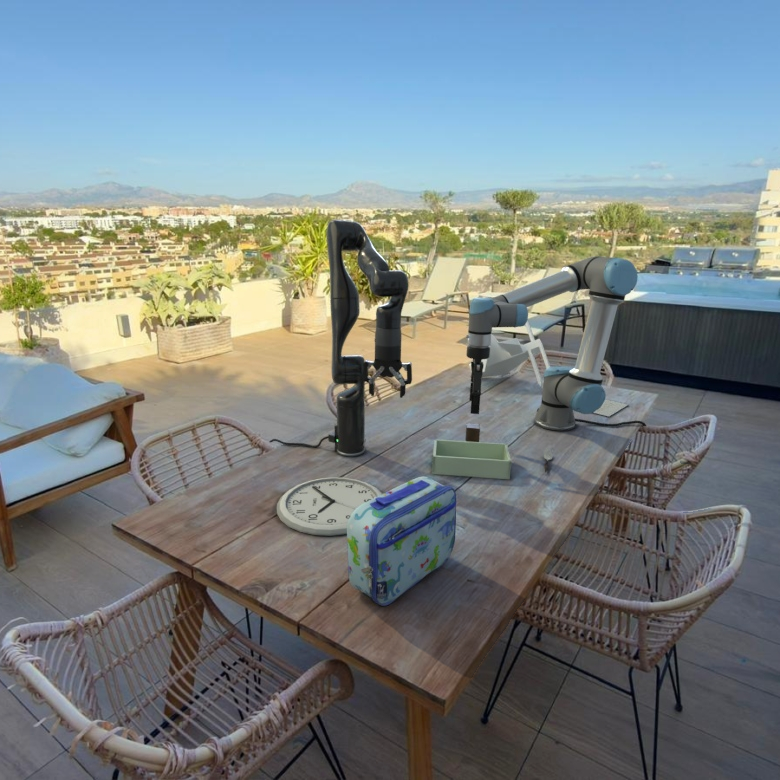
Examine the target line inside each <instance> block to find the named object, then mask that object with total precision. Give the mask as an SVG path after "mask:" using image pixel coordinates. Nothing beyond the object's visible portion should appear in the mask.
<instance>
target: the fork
mask: <svg viewBox="0 0 780 780" xmlns="http://www.w3.org/2000/svg"><path fill="white" fill-rule="evenodd" d="M553 451H554V450H553V448H552V451H551V449H549V451H547V450H545V452H544V455H543V459H545V460H546V461H545V463H544V473H547V470H548V468H549V461H551V460H553Z"/></svg>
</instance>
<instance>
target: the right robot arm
mask: <svg viewBox="0 0 780 780" xmlns="http://www.w3.org/2000/svg"><path fill="white" fill-rule="evenodd" d="M638 277H639V276H638V271H637V268H636V267H635V265H634V263H633V262H631V261H630V260H628V259H625V258H621V257H609V256H600V255H599V256H598V255H597V256H591V257H587V258H584V259H581V260H579V261H576V262H574V263H571V264H568V265H566V266H563V267H562V269H561V271H558V272H555V273H553V274H551V275H548V276H546V277H543V278H541V279H538V280H536V281H533V282H530V283H528V284H525V285H522V286H520V287H517V288H515V289H512V290H510V291H507V292H504V293H503V294H499V295H497V296H494V297H473V298H471V300H470V304H469V310H468V329H467V334H466V335H465V338H467V346H466V357H467V358H468V359H472V361H471V362H470V363H471V370H470V373H471V371H472V373H471V374H470V386H469V402H471V403H470V414H471V415H479V414H480V405H481V395H482V378H483V377H482V373H483V366H484V364H483V362H481V360H482V359H488V358H489V355H490V347H489V346H490V345H491V334H492V330H493V328H495V329H496V328H519V327H520V328H521V327H524V326H526V325H525V324H526V322H527V320H528V321H529V310H528V308H529V307H531V306H534V305H536V304H539V303H542V302H545V301H547V300H549V299H552V298H554V297H557V296H559V295H562V294H564V293H567V292H569V293H575V292H578V291H581V290H589V291H588V297H589V299H590V301H591V302H590V306H589V310H588V314H587V318H586V322H585V325H584V329H583V333H582V338H581V341H580V345H579V350H578V354H577V357H576V361H575V365H574V367H573V366H558V365H557V366H550V367H549V368H546V369H545V370H544V373H543V389H542V394H541V402H540V405H539V407H538V408H537V410H536V413H535V417H534V424H535V425H536V426H537V427H539V428H542V429H544V430H549V431H556V432H567V431H572V430H574V429H575V428H576V422H578V423H585V424H589V425H594V426H600V427H601V426H602V427H619V426H623V425H633V424H640V425H642V426H643V427H647V424H646V423H645V422H644V421H641V420H630V421H622V422H621V421H620V422H618V423H605V422H597V421H590V420H585V419H580V418H575V417H576V416H575V413H574V412H577V413H579V414H582V415H590V414H594V413H593V412H595V411H596V410H598V409H599V408H600V407H601V406H602V404H603V403H604V401H605V399H606V397H607V394H606V391H605V388H604V387H603V386H602V385H603V381H604V376H602V374H601V371H602V370H601V369H602V366H603V362H604V359H605V354H606V352H607V348H608V344H609V340H610V336H611V332H612V328H613V325H614V323H615V322H614V321H615V318H616V313H617V310H618V306H619V305H620V304H622V303H624V302H625V299H626V296H627V295H629V294H630V293H632V291H634V290H635V288H636V286H637V284H638Z"/></svg>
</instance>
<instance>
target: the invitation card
mask: <svg viewBox="0 0 780 780" xmlns="http://www.w3.org/2000/svg"><path fill="white" fill-rule="evenodd" d="M628 406H629V404H627V403H623V402H618V401H614V400H609V399H606V398H605V401H604V403H603V404H602V406H601V407H600V408H599V409H598V410H596V411H595V412H593V413H592V414H596V415H600V416H604V417H608V418H609V417H611V416H613V415H614V414H616V413H617V412H619V411H621V410H623V409H624V408H626V407H628Z"/></svg>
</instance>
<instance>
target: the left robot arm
mask: <svg viewBox="0 0 780 780" xmlns="http://www.w3.org/2000/svg"><path fill="white" fill-rule="evenodd" d="M325 238H326V251H327V257H328V269H329V289H330V290H329V299H330V300H329V302H330V303H329V305H330V321H331V366H330V367H331V368H330V369H331V370H330V371H331V379H332V382H333V383H334V384H335V385H352V386H350V387H349V388H348V389H346V390H343V391H341V392H339V393H338V394H337V395H336V423H335V424H334V427H333V428H334V429H333V430H334V431H333V432H331V433H329V434H328V435H326V436H324V437H322V438H321V439H320V441H319V442H318V444H316V445H312V444H307V443H301V442H285V441H282V440H280V439H278V438H273V439H271V440H269V443H273V442H277V443H280V444H282V445H285V446H286V445H287V446H303V447H308V448H313V449H315V448H319V447H321V445H322V442H323V441H324V440H327V441H328V442H330V443H332V444H334V452H337V454H338V455H340V456H343V457H358V456H361V455H363V454H364V453H365V452H366V447H365V444H366V440H367V438H366V437H365V434H366V433H365V425H366V424H365V418H366V417H365V415H366V414H365V413H366V411H365V409H366V407H365V404H366V401H365V397H366V396H365V392H366V389H365V388H366V383H367V384H368V394H369V395H370V396H371V397H374V396H375V392H376V391H375V389H376V387H375V386H376V385H375V383H376V382H375V381H376V380H377V379H378V377H379V376H380V377H381V378H395V380H397V381H398V383H399V384H400V386H399V398H400V399H401V398H404V397H405V396H406V387H407V385H411V384H412V381H413V366H412V365H413V364H412V362H411V361H408V362H402V312H403V308H404V304H405V301H406V297H407V294H408V291H409V283H410V282H409V278H408V276H407V274H406V272H405V271H403V270H399V269H398V270H391V269H390V265H389V263H388V262H387V261H386V259H384V257H383V256H382V255H381V254H380V253H379V252H377V250H376V248H375V247H374V245H373V243H372V241H371V240H370V238H369V236H368V234H367V233H366V230H365V228H364V227H363V226H362V225H361V224H360V223H359V222H357V221H353V220H343V219H341V220H340V219H331V220H330V221H329V222H328V224H327V227H326V237H325ZM343 252H351V253H352V252H356V253H357V256H356V257H357V258H356V263H357V266H358V269H359V270H360V271H361V272H362V273H363V275H364V276H365V277H366V278H367V282H368V285H369V288H370V292H371V293H372V294H373V295H374V296H375V297H378V298H389V300H388V302H386V303H385V304H381V305H379V306H377V308H376V311H375V315H376V316H375V332H374V361H371V360H368V359H365V357H364V356H363V355H360V354H359V355H357V354H355V355H354V354H353V355H342V354H343V349H344V344H345V342H346V340H347V339H348V336H349V334H350V333H351V331H352V330H353V328H354V326H355V324H357V320H358V319H359V316H360V313H361V312H360V310H361V309H360V292H359V290H358V287H357V286H356V284H355V282H354V280H353V279H352V278H351V276H350V274H349V272H348V270H347V269H346V266H345V263H344V259H343ZM372 367H373V369H374V370H375V372H374V373H373V375H371V377H370V376H369V370H370V369H371V368H372ZM402 368H403V370H404V371H405V372H406V379H405V378H404V376H403V374H402V373H401V369H402ZM365 438H366V439H365Z"/></svg>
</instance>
